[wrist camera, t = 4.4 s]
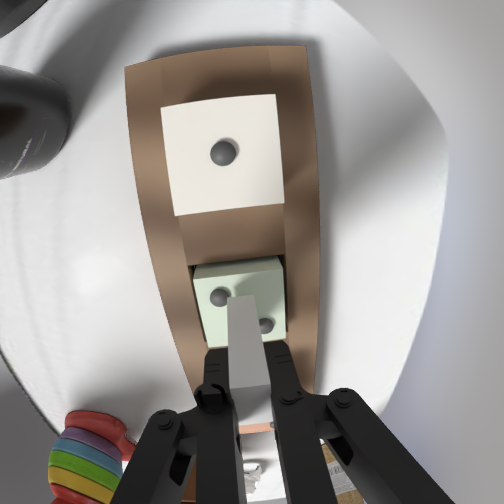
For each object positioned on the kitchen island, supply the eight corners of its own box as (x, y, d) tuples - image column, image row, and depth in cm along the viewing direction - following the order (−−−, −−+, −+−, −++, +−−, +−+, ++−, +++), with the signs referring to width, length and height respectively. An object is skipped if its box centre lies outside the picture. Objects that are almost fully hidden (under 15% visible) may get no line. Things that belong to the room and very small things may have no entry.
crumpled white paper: (259, 472, 34) (265, 497, 29) (217, 477, 32) (221, 502, 28) (261, 457, 30) (268, 486, 26) (212, 463, 29) (216, 492, 25)
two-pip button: (197, 258, 18) (192, 281, 15) (274, 249, 18) (283, 270, 15) (210, 320, 20) (208, 349, 17) (278, 312, 20) (286, 340, 17)
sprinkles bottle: (312, 457, 31) (332, 532, 18) (314, 444, 29) (337, 528, 16) (342, 449, 31) (366, 522, 18) (347, 436, 29) (375, 516, 17)
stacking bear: (144, 455, 28) (133, 561, 11) (83, 443, 27) (61, 537, 11) (119, 415, 24) (92, 551, 8) (51, 400, 23) (10, 511, 7)
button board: (135, 74, 13) (124, 67, 11) (297, 55, 14) (305, 45, 12) (209, 416, 24) (208, 431, 23) (305, 404, 25) (310, 419, 23)
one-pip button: (173, 115, 13) (159, 107, 10) (265, 103, 13) (276, 93, 10) (184, 202, 15) (174, 217, 12) (273, 192, 15) (285, 203, 12)
